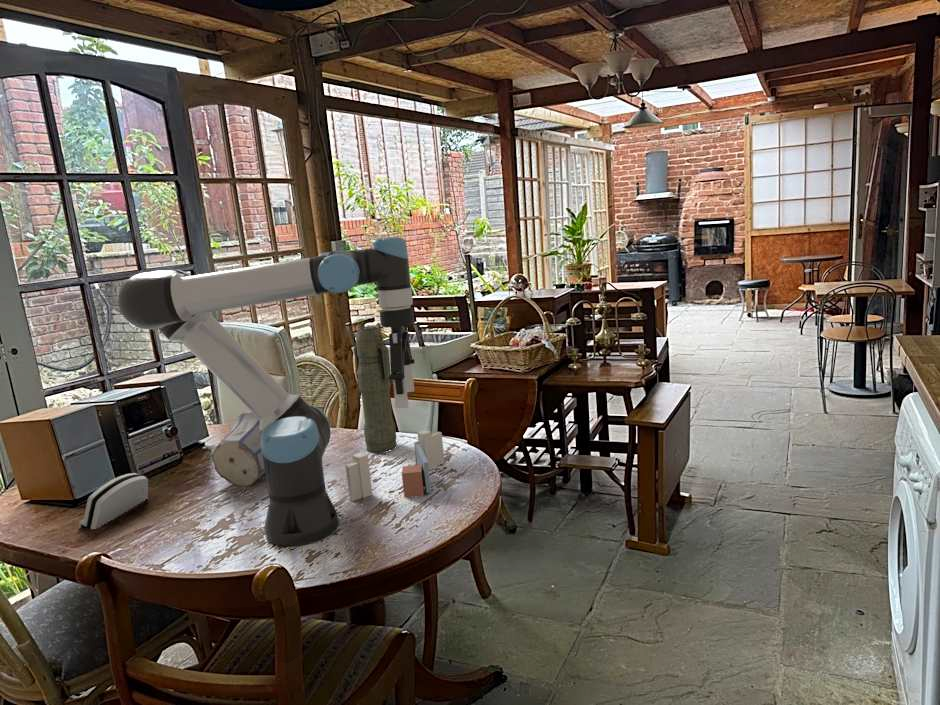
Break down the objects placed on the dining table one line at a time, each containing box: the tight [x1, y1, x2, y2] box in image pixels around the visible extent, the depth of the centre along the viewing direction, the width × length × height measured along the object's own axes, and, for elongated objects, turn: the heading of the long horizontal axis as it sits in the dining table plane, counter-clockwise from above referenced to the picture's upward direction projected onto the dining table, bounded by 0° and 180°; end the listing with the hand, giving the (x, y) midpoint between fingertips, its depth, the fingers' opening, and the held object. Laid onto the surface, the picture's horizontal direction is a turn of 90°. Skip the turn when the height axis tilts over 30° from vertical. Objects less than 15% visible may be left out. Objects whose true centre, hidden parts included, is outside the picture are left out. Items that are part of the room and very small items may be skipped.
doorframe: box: [345, 429, 445, 502], centre depth 163 cm, size 29×2×10 cm, turn 134°
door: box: [413, 441, 432, 494], centre depth 161 cm, size 16×1×8 cm, turn 13°
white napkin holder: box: [78, 472, 149, 531], centre depth 158 cm, size 17×5×10 cm, turn 164°
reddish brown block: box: [401, 464, 425, 498], centre depth 156 cm, size 4×4×6 cm
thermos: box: [353, 325, 398, 454], centre depth 186 cm, size 9×12×35 cm
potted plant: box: [211, 411, 265, 487], centre depth 180 cm, size 18×18×30 cm
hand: (405, 399), depth 152 cm, fingers open, 13 cm apart
